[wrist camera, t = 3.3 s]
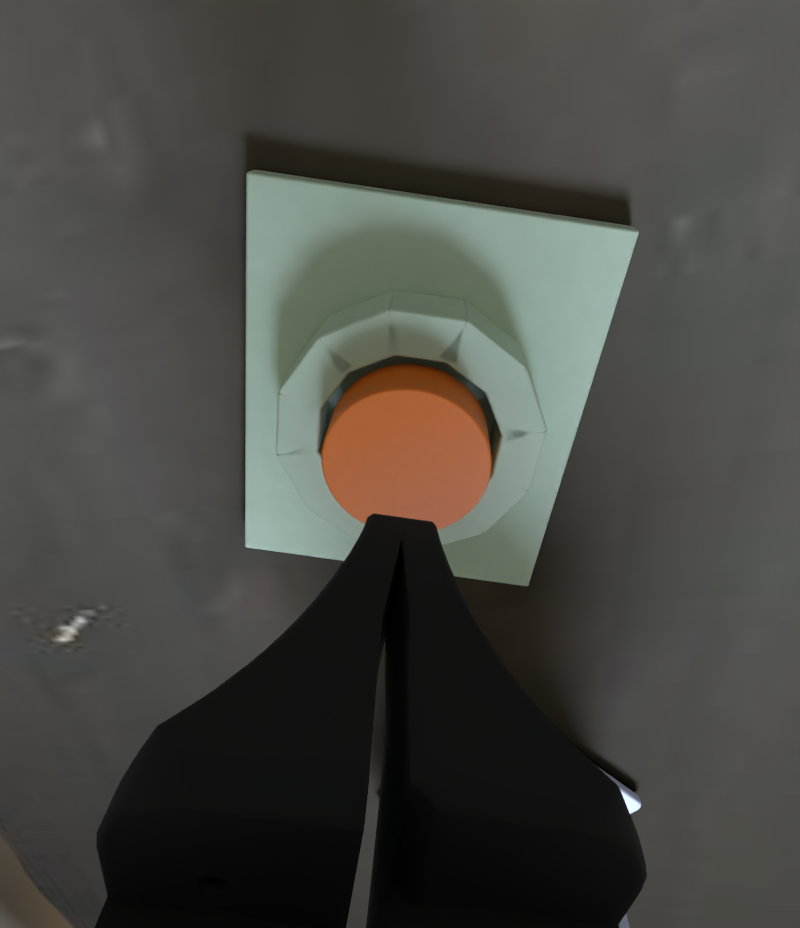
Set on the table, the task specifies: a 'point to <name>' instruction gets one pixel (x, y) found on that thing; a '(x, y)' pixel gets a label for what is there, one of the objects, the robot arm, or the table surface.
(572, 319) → the button block
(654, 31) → the table surface
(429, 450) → the button
